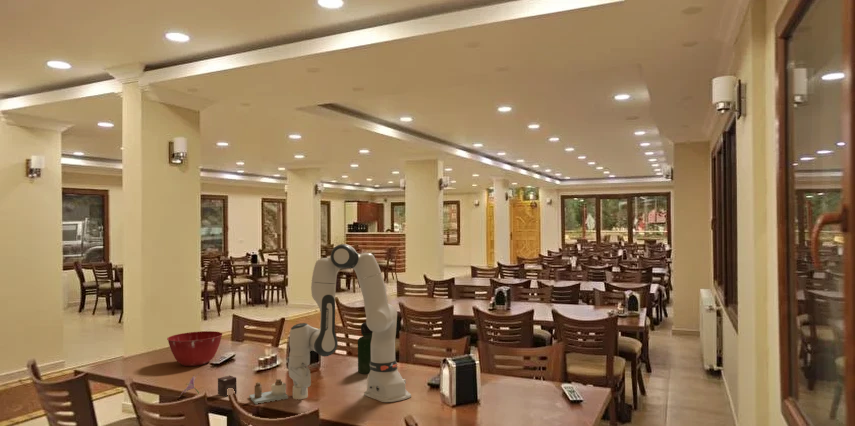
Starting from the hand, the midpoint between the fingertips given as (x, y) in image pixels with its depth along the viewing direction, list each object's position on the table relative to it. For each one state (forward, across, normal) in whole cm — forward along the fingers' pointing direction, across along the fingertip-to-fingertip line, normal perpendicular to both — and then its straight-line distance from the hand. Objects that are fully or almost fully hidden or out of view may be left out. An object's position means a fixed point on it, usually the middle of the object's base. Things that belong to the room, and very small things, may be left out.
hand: (299, 392), depth 240 cm
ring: (+2, 0, 0) cm, 2 cm away
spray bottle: (+2, +21, -43) cm, 48 cm away
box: (+3, +23, +26) cm, 35 cm away
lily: (+3, +31, +41) cm, 51 cm away
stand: (+2, +6, +12) cm, 14 cm away
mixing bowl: (+3, +92, +30) cm, 97 cm away
